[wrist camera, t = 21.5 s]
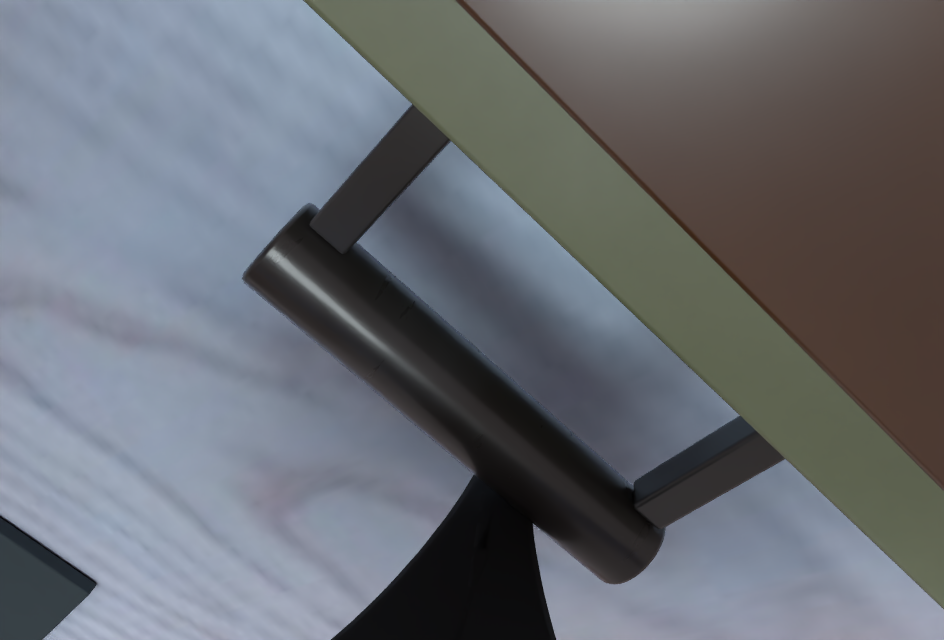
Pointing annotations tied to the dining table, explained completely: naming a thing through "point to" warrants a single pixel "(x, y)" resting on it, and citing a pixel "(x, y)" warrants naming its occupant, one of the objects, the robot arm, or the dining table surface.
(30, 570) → the mat
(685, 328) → the drawer
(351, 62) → the dining table surface
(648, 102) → the cabinet
